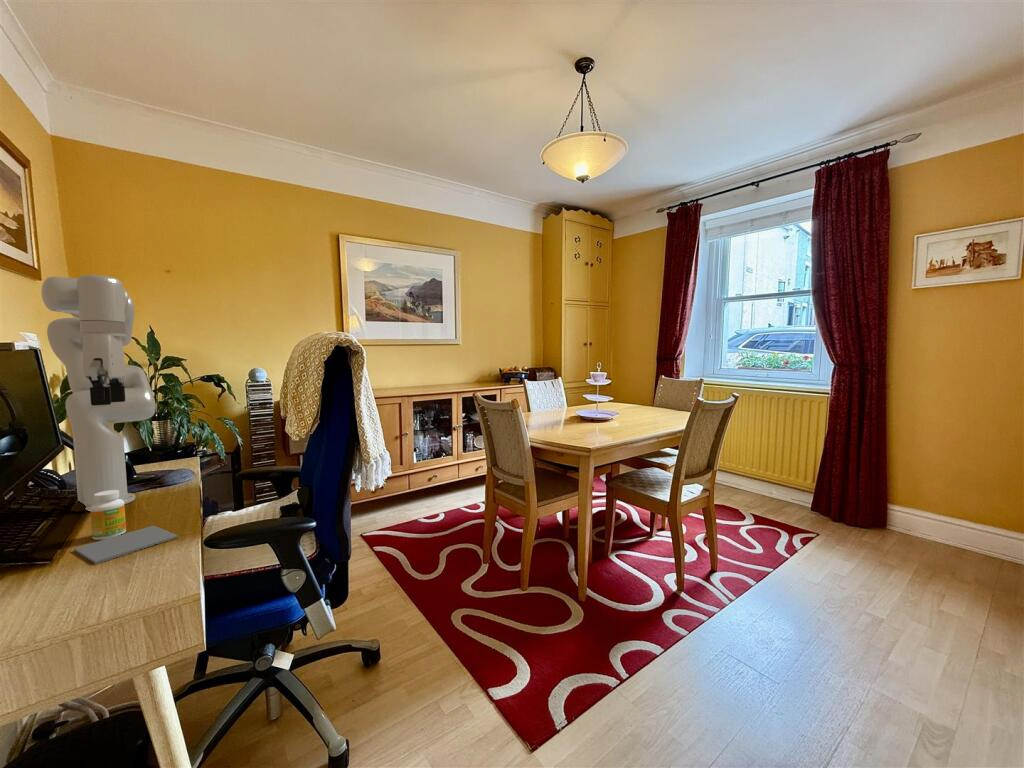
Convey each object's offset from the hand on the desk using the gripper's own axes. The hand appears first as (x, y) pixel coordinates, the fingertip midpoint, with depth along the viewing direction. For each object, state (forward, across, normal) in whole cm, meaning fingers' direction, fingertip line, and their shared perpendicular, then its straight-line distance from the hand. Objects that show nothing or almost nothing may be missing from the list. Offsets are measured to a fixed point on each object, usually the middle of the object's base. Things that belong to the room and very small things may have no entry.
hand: (109, 403), depth 95 cm
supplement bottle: (+29, +7, 0) cm, 30 cm away
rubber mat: (+29, +16, +6) cm, 34 cm away
